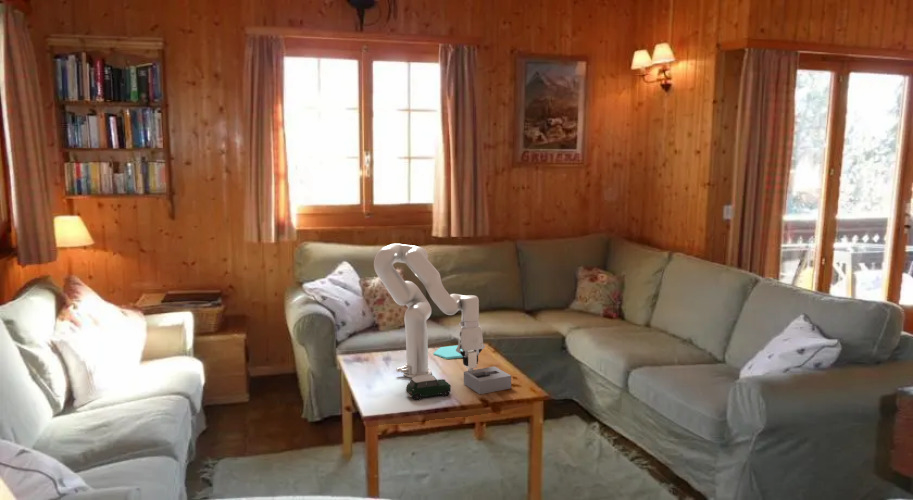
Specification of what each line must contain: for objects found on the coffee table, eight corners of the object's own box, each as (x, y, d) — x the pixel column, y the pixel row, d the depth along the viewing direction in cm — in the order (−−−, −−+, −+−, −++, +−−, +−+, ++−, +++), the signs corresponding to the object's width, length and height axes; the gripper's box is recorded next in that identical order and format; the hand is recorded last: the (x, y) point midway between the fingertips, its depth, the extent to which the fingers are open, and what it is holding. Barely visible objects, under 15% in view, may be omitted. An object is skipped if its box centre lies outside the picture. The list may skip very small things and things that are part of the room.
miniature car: (452, 396, 274) (452, 377, 273) (410, 402, 268) (409, 382, 267) (445, 388, 282) (445, 370, 281) (404, 394, 276) (403, 375, 275)
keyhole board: (479, 394, 275) (479, 381, 274) (463, 384, 287) (463, 371, 286) (511, 388, 282) (511, 375, 281) (494, 378, 294) (494, 366, 293)
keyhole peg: (468, 379, 293) (468, 353, 292) (463, 376, 298) (462, 350, 296) (478, 377, 295) (478, 352, 294) (473, 374, 300) (472, 349, 298)
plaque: (435, 362, 322) (477, 358, 325) (435, 358, 321) (476, 354, 324) (431, 351, 339) (470, 347, 342) (431, 347, 338) (470, 343, 341)
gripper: (457, 328, 286) (457, 369, 289) (491, 323, 294) (491, 363, 296) (449, 324, 293) (449, 365, 295) (482, 319, 300) (483, 359, 303)
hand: (470, 364), depth 296 cm, fingers closed on keyhole peg, 4 cm apart
